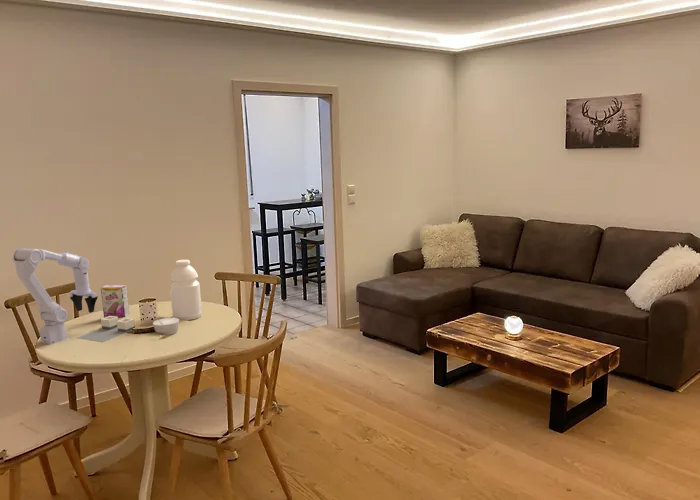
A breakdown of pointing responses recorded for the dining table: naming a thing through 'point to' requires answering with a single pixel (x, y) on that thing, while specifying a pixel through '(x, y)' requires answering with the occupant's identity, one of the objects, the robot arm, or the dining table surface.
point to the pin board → (102, 335)
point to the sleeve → (109, 322)
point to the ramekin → (166, 326)
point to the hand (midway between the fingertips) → (85, 311)
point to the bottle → (185, 292)
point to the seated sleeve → (125, 324)
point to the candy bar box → (115, 300)
